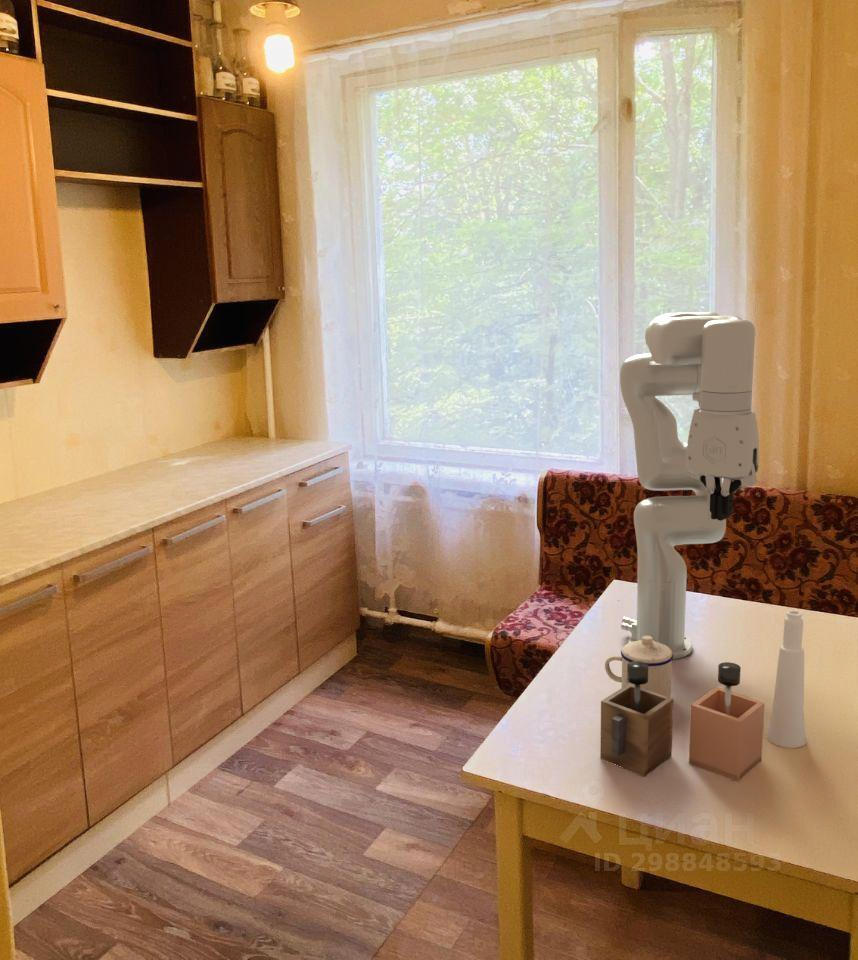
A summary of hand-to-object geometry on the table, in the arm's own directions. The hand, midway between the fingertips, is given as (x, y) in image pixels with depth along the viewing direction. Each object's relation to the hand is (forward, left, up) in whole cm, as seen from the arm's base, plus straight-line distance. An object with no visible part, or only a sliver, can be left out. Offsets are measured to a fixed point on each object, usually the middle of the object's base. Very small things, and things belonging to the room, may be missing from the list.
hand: (720, 517), depth 138 cm
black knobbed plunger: (+6, -7, -35) cm, 36 cm away
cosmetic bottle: (+10, +6, -37) cm, 39 cm away
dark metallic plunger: (-5, -15, -35) cm, 39 cm away
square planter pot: (+6, -7, -37) cm, 38 cm away
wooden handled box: (-5, -15, -37) cm, 40 cm away
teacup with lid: (-16, +3, -37) cm, 41 cm away
